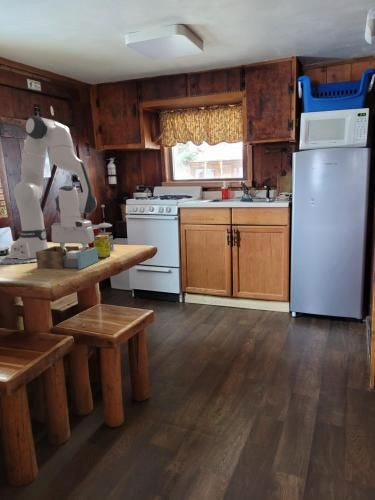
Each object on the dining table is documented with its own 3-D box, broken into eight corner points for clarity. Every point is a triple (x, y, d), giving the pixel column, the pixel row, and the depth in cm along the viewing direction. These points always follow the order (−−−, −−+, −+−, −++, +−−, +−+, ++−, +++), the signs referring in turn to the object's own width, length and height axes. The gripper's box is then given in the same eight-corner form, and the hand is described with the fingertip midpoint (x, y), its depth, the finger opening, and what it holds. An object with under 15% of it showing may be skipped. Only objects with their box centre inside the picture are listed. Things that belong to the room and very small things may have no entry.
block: (67, 263, 176) (66, 252, 175) (73, 261, 181) (72, 250, 180) (77, 263, 174) (75, 252, 174) (82, 261, 179) (81, 250, 178)
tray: (55, 268, 172) (54, 253, 171) (74, 260, 186) (72, 247, 185) (81, 268, 168) (79, 253, 167) (98, 261, 183) (97, 247, 181)
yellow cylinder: (106, 258, 190) (104, 236, 188) (94, 258, 191) (92, 236, 189) (110, 256, 196) (109, 234, 194) (99, 256, 197) (97, 234, 195)
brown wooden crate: (37, 268, 175) (35, 251, 174) (56, 261, 189) (54, 246, 187) (62, 268, 171) (60, 252, 170) (79, 261, 185) (78, 246, 184)
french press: (117, 248, 215) (113, 203, 210) (112, 253, 203) (109, 205, 199) (99, 249, 215) (95, 204, 210) (94, 253, 204) (90, 206, 199)
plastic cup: (81, 248, 221) (79, 227, 218) (87, 245, 231) (85, 225, 229) (100, 247, 220) (98, 227, 218) (105, 244, 231) (103, 224, 228)
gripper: (46, 223, 174) (50, 253, 176) (87, 223, 168) (90, 254, 171) (55, 221, 180) (58, 251, 182) (94, 221, 174) (97, 251, 177)
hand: (74, 252), depth 177 cm, fingers open, 8 cm apart
